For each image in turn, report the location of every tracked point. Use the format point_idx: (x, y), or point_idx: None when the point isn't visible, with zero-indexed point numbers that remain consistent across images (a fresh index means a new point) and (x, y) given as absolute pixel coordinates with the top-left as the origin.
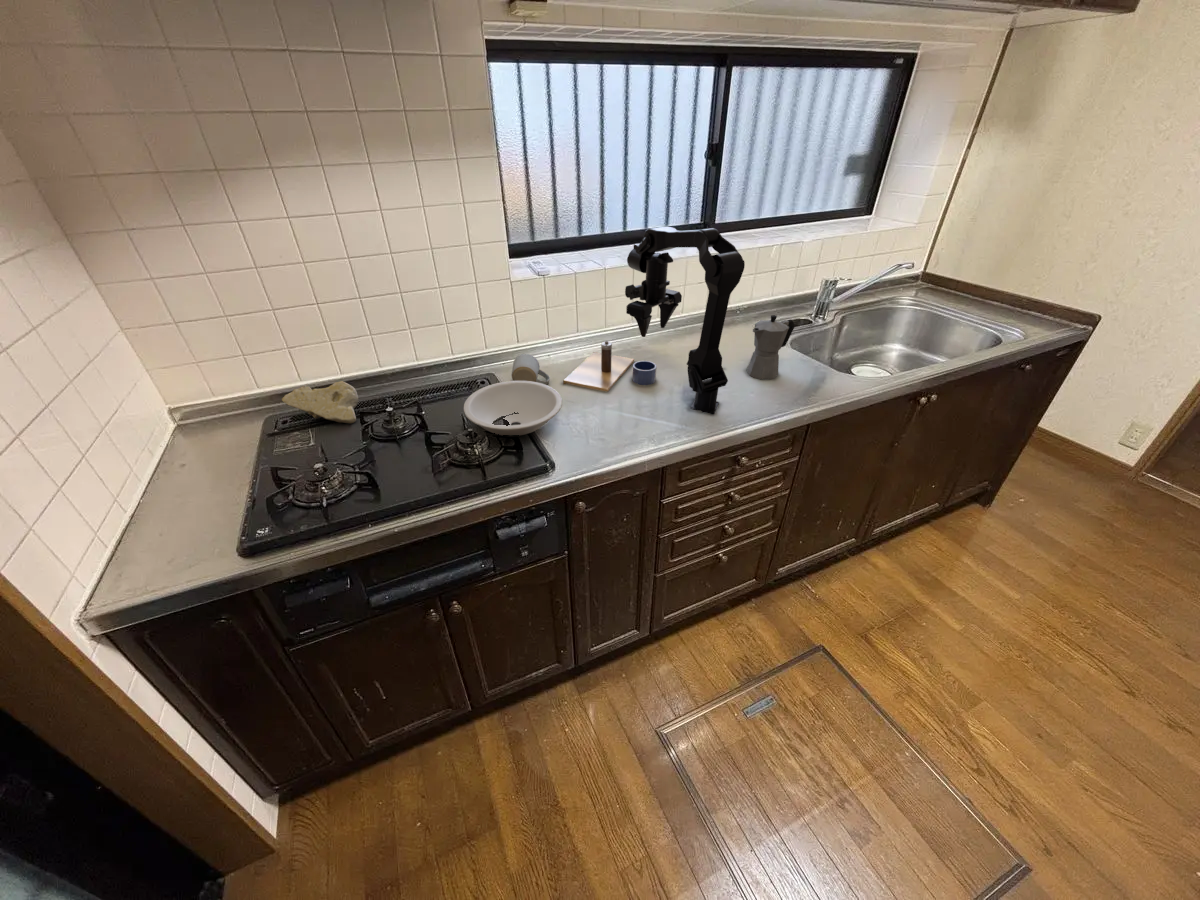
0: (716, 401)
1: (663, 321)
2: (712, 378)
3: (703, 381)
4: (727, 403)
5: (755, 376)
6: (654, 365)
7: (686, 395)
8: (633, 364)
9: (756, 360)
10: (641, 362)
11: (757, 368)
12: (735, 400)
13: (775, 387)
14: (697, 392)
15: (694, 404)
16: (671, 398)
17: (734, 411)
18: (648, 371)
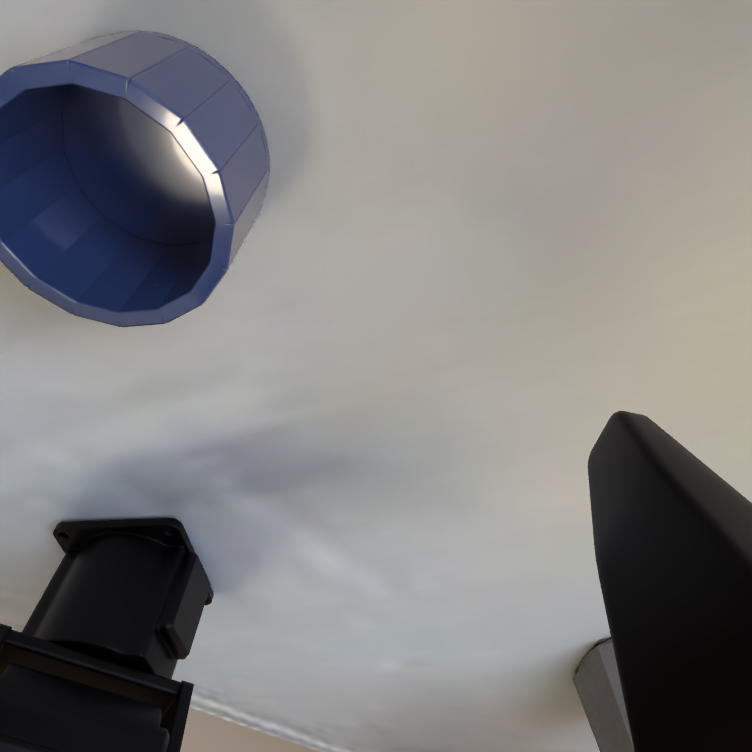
0: (208, 596)
1: (638, 563)
2: (165, 697)
3: (91, 675)
4: (248, 615)
5: (585, 664)
6: (191, 287)
7: (187, 469)
8: (18, 74)
9: (627, 747)
10: (167, 124)
11: (602, 710)
12: (298, 632)
13: (514, 710)
14: (39, 625)
15: (91, 541)
16: (90, 416)
17: (200, 642)
18: (37, 288)
